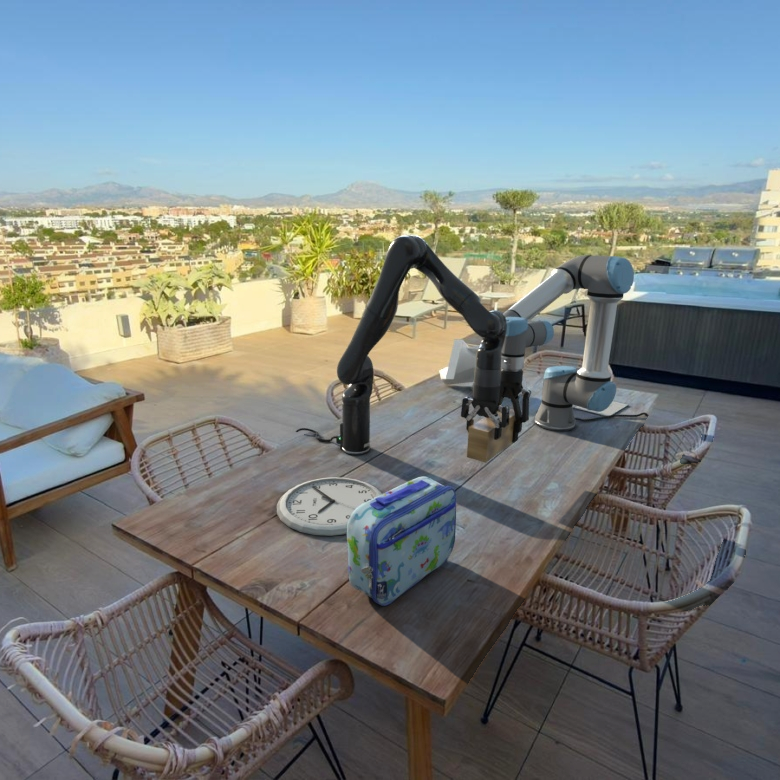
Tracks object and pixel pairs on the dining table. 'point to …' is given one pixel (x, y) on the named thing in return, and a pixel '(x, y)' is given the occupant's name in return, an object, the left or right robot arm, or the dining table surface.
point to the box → (488, 438)
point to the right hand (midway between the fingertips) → (504, 438)
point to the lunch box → (400, 538)
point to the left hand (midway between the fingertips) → (483, 435)
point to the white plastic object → (463, 365)
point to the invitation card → (610, 410)
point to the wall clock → (324, 504)
